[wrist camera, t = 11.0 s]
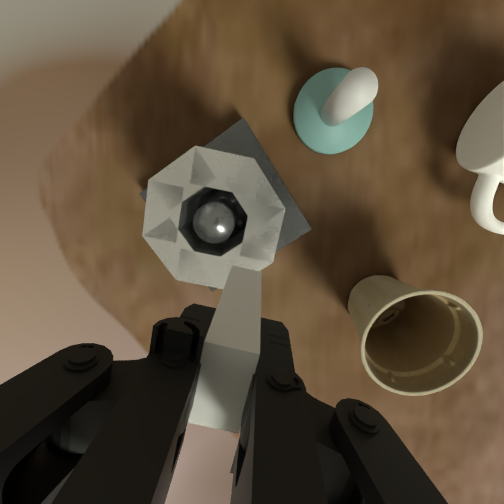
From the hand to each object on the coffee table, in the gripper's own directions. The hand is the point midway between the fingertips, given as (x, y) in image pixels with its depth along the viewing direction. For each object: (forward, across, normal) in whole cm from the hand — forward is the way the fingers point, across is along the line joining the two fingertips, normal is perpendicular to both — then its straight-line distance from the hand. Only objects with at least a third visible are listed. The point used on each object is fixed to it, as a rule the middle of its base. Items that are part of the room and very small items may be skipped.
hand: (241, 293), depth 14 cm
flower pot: (+16, +15, -4) cm, 22 cm away
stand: (+15, +5, +13) cm, 20 cm away
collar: (+11, -3, +2) cm, 12 cm away
